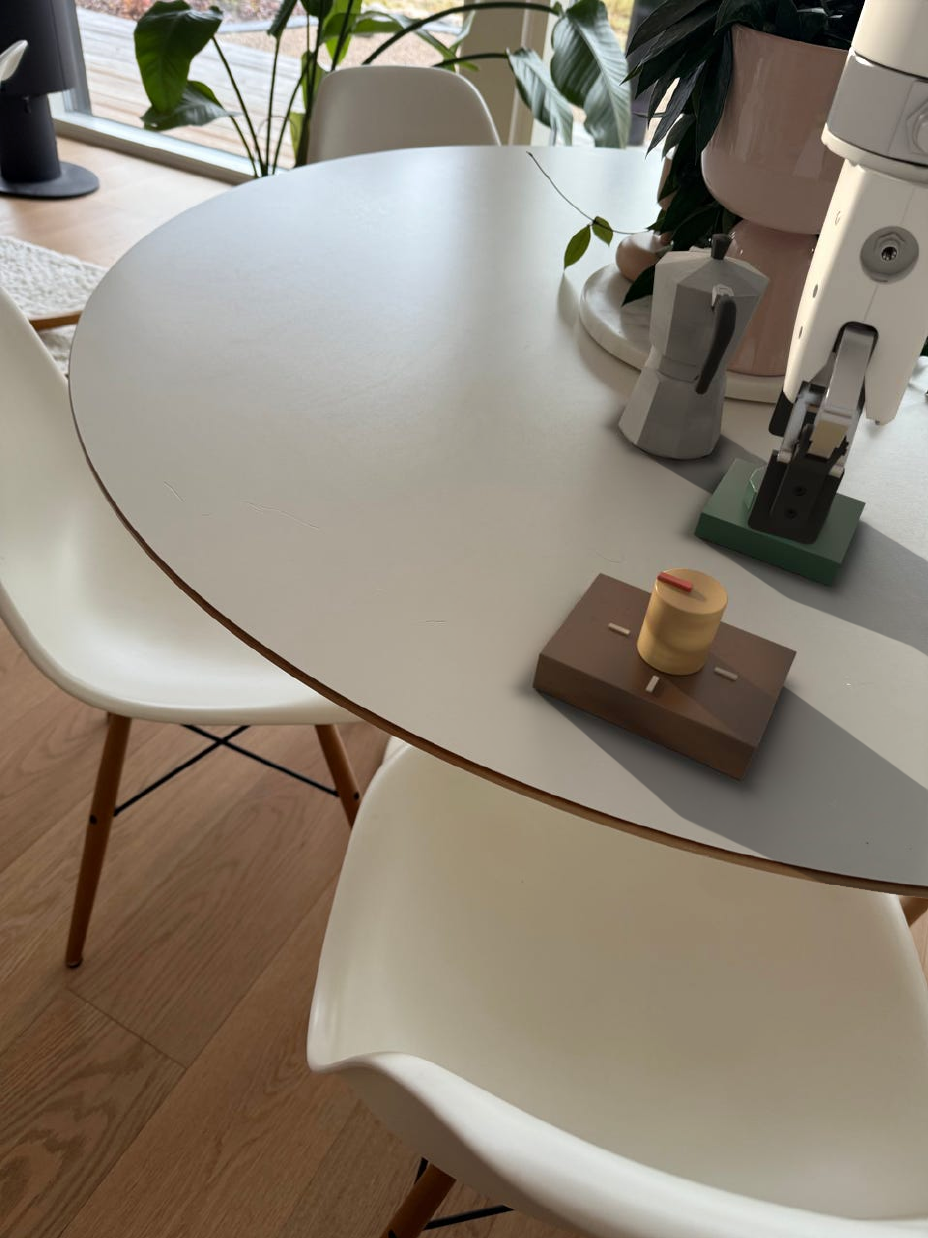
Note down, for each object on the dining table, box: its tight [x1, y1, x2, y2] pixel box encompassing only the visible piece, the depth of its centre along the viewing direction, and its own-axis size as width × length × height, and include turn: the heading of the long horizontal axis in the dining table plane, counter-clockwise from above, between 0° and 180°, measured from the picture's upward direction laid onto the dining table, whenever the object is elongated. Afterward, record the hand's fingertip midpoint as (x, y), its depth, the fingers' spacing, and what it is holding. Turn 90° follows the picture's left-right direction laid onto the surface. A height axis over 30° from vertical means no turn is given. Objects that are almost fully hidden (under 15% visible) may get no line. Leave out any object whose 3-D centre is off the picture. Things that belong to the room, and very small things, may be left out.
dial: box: [637, 567, 729, 675], centre depth 62 cm, size 4×4×5 cm
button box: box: [693, 457, 866, 587], centre depth 80 cm, size 11×10×4 cm
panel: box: [531, 572, 797, 781], centre depth 64 cm, size 14×10×3 cm
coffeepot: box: [618, 233, 771, 460], centre depth 84 cm, size 15×9×18 cm, turn 178°
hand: (788, 482), depth 51 cm, fingers open, 9 cm apart
